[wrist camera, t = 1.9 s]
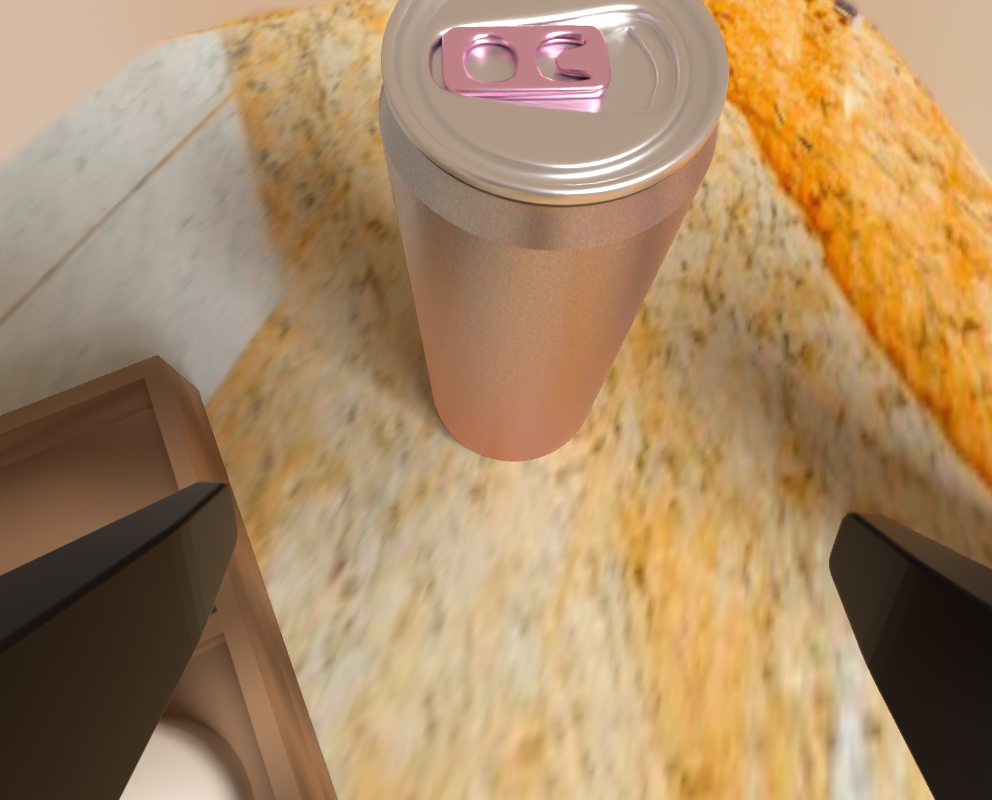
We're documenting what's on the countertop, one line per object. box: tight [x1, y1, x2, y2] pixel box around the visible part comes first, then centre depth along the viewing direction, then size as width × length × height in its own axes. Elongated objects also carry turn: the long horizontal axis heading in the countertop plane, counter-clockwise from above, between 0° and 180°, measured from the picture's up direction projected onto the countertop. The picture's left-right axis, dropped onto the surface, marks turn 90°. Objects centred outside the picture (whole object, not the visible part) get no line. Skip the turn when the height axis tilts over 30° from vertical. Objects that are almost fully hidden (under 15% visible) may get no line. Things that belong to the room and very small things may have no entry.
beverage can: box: [379, 0, 729, 461], centre depth 17 cm, size 6×6×15 cm
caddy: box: [0, 355, 338, 800], centre depth 19 cm, size 18×10×3 cm, turn 26°
